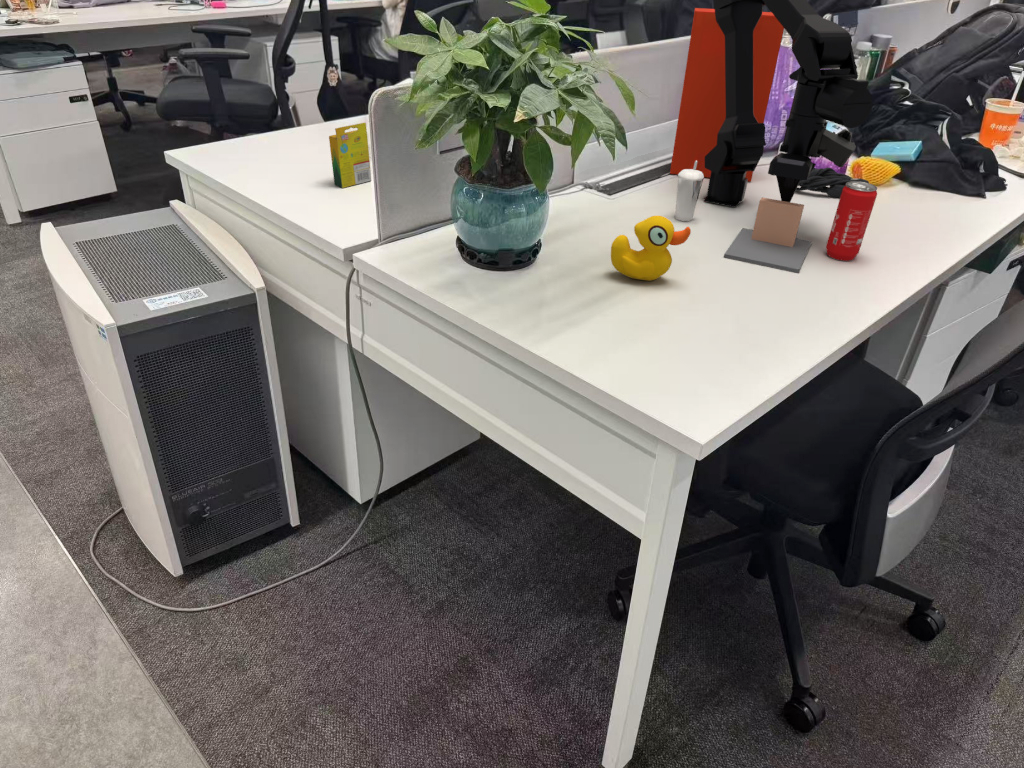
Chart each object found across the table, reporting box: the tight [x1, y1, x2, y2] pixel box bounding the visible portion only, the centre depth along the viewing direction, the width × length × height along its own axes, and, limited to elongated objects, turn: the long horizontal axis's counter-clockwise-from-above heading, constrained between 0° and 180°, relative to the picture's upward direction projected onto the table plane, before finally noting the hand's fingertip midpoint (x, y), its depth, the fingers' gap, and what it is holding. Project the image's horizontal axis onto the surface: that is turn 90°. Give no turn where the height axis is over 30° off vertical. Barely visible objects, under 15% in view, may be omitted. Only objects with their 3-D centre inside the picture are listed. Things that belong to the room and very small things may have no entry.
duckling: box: [610, 215, 692, 282], centre depth 109 cm, size 11×5×10 cm, turn 78°
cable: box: [795, 167, 870, 199], centre depth 152 cm, size 17×14×4 cm
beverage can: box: [825, 181, 878, 262], centre depth 118 cm, size 5×5×12 cm
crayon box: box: [328, 122, 372, 189], centre depth 142 cm, size 7×3×12 cm, turn 136°
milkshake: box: [674, 161, 705, 222], centre depth 132 cm, size 4×5×10 cm
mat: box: [723, 227, 812, 274], centre depth 122 cm, size 12×14×1 cm
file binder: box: [669, 7, 785, 183], centre depth 150 cm, size 8×17×32 cm, turn 77°
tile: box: [751, 196, 805, 247], centre depth 122 cm, size 7×2×7 cm, turn 63°
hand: (785, 205), depth 127 cm, fingers closed
